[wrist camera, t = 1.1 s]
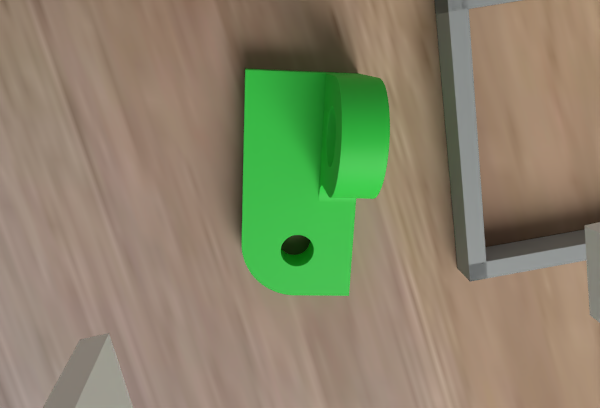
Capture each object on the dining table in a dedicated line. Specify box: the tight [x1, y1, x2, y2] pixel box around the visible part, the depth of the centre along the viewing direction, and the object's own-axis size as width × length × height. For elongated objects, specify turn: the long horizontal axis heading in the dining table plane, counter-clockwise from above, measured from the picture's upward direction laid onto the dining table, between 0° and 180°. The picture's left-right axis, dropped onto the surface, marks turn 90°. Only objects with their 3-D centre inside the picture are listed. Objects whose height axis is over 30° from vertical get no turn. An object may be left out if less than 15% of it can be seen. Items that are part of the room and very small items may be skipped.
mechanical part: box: [242, 69, 390, 296], centre depth 28 cm, size 12×6×8 cm, turn 177°
